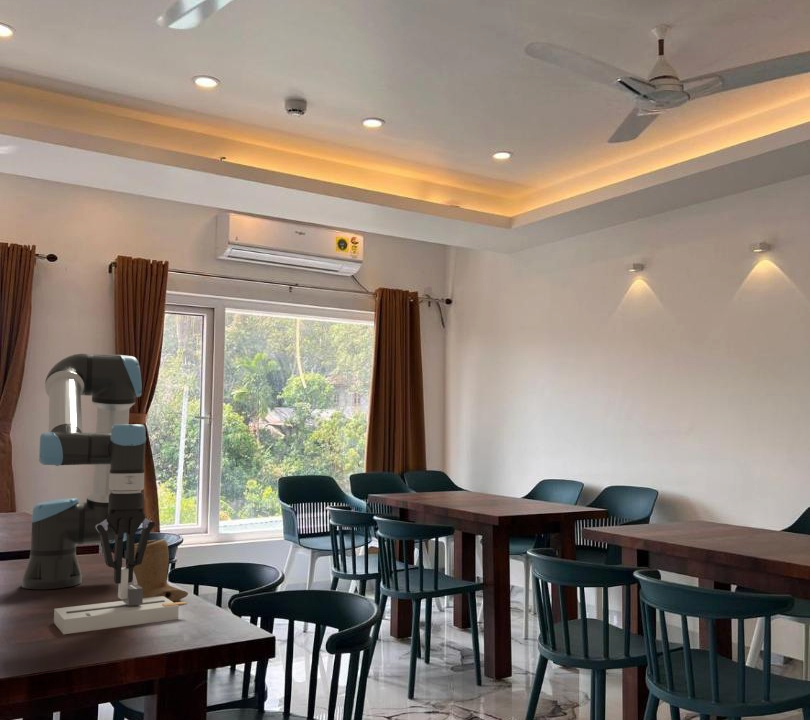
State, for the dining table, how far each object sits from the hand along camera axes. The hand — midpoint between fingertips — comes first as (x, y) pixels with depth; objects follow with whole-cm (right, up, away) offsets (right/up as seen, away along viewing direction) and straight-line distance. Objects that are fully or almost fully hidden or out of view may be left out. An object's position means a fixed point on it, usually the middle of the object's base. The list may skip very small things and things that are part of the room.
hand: (122, 597), depth 172 cm
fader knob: (+2, -2, +1) cm, 3 cm away
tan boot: (+1, -7, +20) cm, 21 cm away
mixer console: (0, -5, -1) cm, 5 cm away
